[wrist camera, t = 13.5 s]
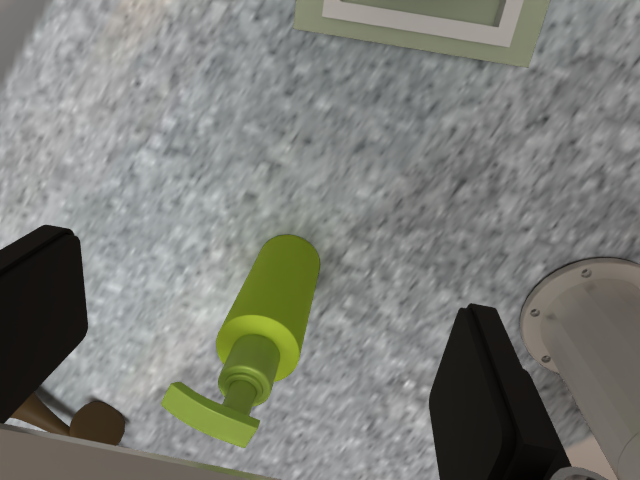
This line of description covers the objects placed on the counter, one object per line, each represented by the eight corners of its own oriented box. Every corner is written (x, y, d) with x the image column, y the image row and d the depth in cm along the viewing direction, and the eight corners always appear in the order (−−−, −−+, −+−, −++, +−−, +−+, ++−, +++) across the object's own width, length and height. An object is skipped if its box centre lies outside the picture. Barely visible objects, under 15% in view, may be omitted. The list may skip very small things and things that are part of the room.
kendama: (16, 337, 51) (158, 434, 55) (-12, 380, 55) (122, 468, 59) (-28, 372, 46) (132, 478, 50) (-56, 418, 50) (94, 513, 53)
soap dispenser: (264, 218, 41) (179, 364, 23) (331, 252, 42) (298, 420, 24) (240, 266, 43) (145, 433, 25) (303, 298, 44) (254, 482, 26)
